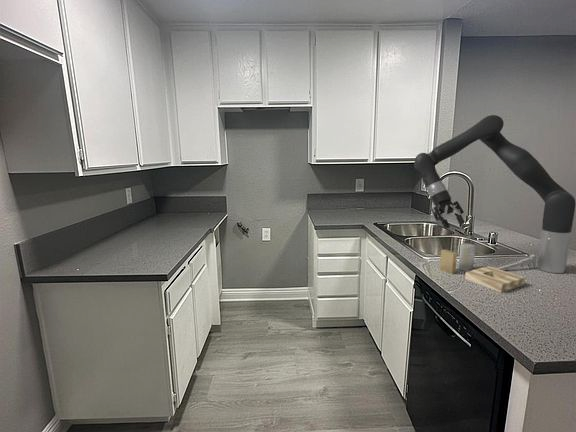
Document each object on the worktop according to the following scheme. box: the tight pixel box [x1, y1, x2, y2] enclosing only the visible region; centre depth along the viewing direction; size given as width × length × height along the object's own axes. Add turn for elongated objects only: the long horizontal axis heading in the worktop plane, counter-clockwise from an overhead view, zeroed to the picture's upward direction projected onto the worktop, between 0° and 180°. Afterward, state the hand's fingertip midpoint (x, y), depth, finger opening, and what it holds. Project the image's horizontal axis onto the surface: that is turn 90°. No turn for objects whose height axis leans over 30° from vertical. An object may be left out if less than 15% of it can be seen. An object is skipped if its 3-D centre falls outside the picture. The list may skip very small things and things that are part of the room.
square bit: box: [458, 242, 476, 272], centre depth 133 cm, size 4×4×11 cm
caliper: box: [496, 254, 537, 271], centre depth 131 cm, size 20×1×6 cm, turn 100°
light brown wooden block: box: [439, 249, 458, 275], centre depth 131 cm, size 2×6×9 cm, turn 24°
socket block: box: [464, 265, 526, 293], centre depth 120 cm, size 14×14×3 cm
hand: (455, 226), depth 134 cm, fingers open, 8 cm apart
